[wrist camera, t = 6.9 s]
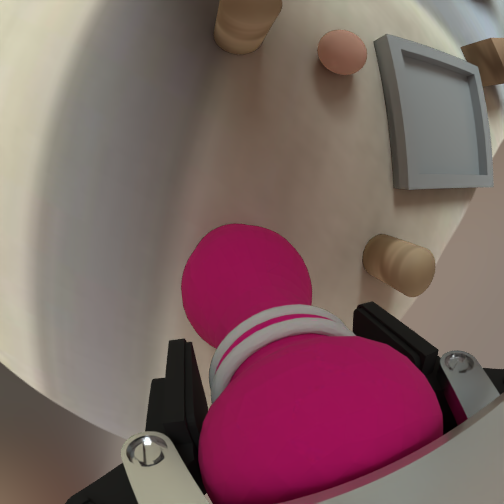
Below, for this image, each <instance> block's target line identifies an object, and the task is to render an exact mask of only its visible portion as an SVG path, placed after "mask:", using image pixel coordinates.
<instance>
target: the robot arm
mask: <svg viewBox="0 0 504 504" xmlns="http://www.w3.org/2000/svg"><path fill="white" fill-rule="evenodd" d="M353 333H354V334H355V335H356V336H359V337H363V338H366V339H370V340H373V341H377V342H381V343H384V344H387V345H389V346H391V347H392V348H394V349H395V350H397V351H398V352H400V353H401V354H403V355H405V356H406V357H407V358H408V359H409V360H410V361H411V362H412V363H413V364H414V365H415V366H416V367H417V368H418V369H419V370H420V371H421V372H422V373H423V374H424V375H425V377H426V379H427V380H428V382H429V384H430V385H431V387H432V389H433V390H434V392H435V394H436V397H437V400H438V403H439V405H440V408H441V411H442V414H443V436H441V437H440V438H438V439H436V440H435V441H433V442H431V443H429V444H428V445H426V446H424V447H422V448H421V449H419V450H417V451H415V452H413V453H411V454H409V455H408V456H406V457H404V458H402V459H400V460H398V461H396V462H394V463H391V464H389V465H387V466H385V467H383V468H381V469H378V470H376V471H374V472H372V473H369V474H367V475H365V476H362V477H360V478H357V479H355V480H352V481H349V482H347V483H344V484H341V485H339V486H336V487H333V488H330V489H327V490H324V491H321V492H318V493H315V494H311V495H308V496H305V497H301V498H297V499H294V500H290V501H286V502H282V503H278V504H504V369H490V368H482V367H481V365H480V364H479V363H478V361H477V360H476V359H475V357H473V356H472V355H471V354H469V353H467V352H464V351H450V352H447V353H445V354H444V355H443V356H442V357H441V358H440V357H439V356H437V355H438V349H437V348H435V347H434V346H432V345H431V344H430V343H429V342H427V341H426V340H425V339H423V338H422V337H421V336H419V335H418V334H417V333H415V332H414V331H413V330H411V329H409V327H407V326H406V325H404V324H403V323H402V322H400V321H399V320H398V319H396V318H395V317H394V316H392V315H391V314H389V313H388V312H387V311H385V310H384V309H383V308H381V307H380V306H378V305H377V304H376V303H374V302H368V303H364V304H360V305H358V307H357V309H355V310H354V314H353ZM207 413H208V406H207V401H206V397H205V393H204V389H203V386H202V382H201V378H200V374H199V370H198V366H197V362H196V357H195V353H194V349H193V345H192V342H186V340H185V339H178V340H170V341H169V346H168V355H167V365H166V376H165V378H158V379H153V380H152V383H151V389H150V396H149V404H148V412H147V420H146V429H145V432H141V433H138V434H136V435H133V436H132V437H130V438H129V439H128V440H126V442H125V443H124V445H123V446H122V449H121V458H122V461H123V463H122V464H120V465H119V466H117V467H116V468H114V469H113V470H111V471H110V472H108V473H107V474H106V475H104V476H103V477H101V478H100V479H98V480H97V481H95V482H93V483H92V484H91V485H89V486H87V487H86V488H84V489H83V490H81V491H79V492H78V493H76V494H75V495H73V496H72V497H71V498H70V499H68V500H67V502H66V503H65V504H210V503H209V502H208V501H207V499H206V498H205V496H204V495H205V494H206V493H207V492H206V489H205V487H204V484H203V481H202V476H201V472H200V467H199V462H198V447H199V438H200V433H201V429H202V425H203V421H204V419H205V417H206V415H207Z"/></svg>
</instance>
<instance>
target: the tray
mask: <svg viewBox="0 0 504 504" xmlns="http://www.w3.org/2000/svg"><path fill="white" fill-rule="evenodd" d="M374 45H375V49H376V54H377V59H378V63H379V68H380V73H381V79H382V84H383V90H384V96H385V103H386V109H387V117H388V125H389V133H390V142H391V153H392V166H393V182H394V188H397V189H407V190H414V189H436V188H469V187H493V162H492V148H491V138H490V129H489V121H488V114H487V108H486V102H485V97H484V91H483V87H482V82H481V77H480V73H479V69H478V67H477V66H475V65H473V64H471V63H469V62H466V61H464V60H462V59H460V58H457V57H455V56H452V55H450V54H447V53H445V52H442V51H439V50H437V49H434V48H431V47H428V46H425V45H422V44H419V43H416V42H413V41H410V40H407V39H403V38H400V37H396V36H393V35H389V34H385V35H384V36H382V37H380V38H379V39H377V40H376V41H374Z"/></svg>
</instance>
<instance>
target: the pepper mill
mask: <svg viewBox="0 0 504 504" xmlns="http://www.w3.org/2000/svg"><path fill="white" fill-rule="evenodd" d="M181 290H182V299H183V307H184V310H185V312H186V315H187V318H188V320H189V321H190V323H191V325H192V326H193V328H194V329H195V331H196V332H197V333H198V335H199V336H200V337H201V338H202V339H203V340H204V341H206V342H207V343H208V344H209V345H211V346H213V347H214V348H216V351H215V354H214V356H213V358H212V361H211V365H210V370H209V383H210V389H211V401H212V405H211V406H210V408H209V411H208V413H207V415H206V417H205V419H204V421H203V425H202V429H201V433H200V438H199V447H198V462H199V467H200V472H201V476H202V481H203V484H204V487H205V489H206V492H207V494H208V496H209V498H210V500H211V501H212V503H213V504H278V503H282V502H286V501H290V500H294V499H297V498H301V497H305V496H308V495H311V494H315V493H318V492H321V491H324V490H327V489H330V488H333V487H336V486H339V485H341V484H344V483H347V482H349V481H352V480H355V479H357V478H360V477H362V476H365V475H367V474H369V473H372V472H374V471H376V470H378V469H381V468H383V467H385V466H387V465H389V464H391V463H394V462H396V461H398V460H400V459H402V458H404V457H406V456H408V455H409V454H411V453H413V452H415V451H417V450H419V449H421V448H422V447H424V446H426V445H428V444H429V443H431V442H433V441H435V440H436V439H438V438H440V437H441V436H443V414H442V411H441V408H440V405H439V403H438V400H437V397H436V394H435V392H434V390H433V389H432V387H431V385H430V384H429V382H428V380H427V379H426V377H425V375H424V374H423V373H422V372H421V371H420V370H419V369H418V368H417V367H416V366H415V365H414V364H413V363H412V362H411V361H410V360H409V359H408V358H407V357H406V356H405V355H403V354H401V353H400V352H398V351H397V350H395V349H394V348H392V347H391V346H389V345H387V344H384V343H381V342H377V341H373V340H370V339H366V338H363V337H359V336H356V335H355V334H354V333H353V332H352V331H351V330H349V329H348V328H347V327H346V326H345V325H344V323H343V322H342V321H341V320H340V319H339V318H338V317H336V316H335V315H333V314H332V313H330V312H328V311H326V310H324V309H322V308H318V307H315V306H312V285H311V280H310V277H309V273H308V270H307V267H306V265H305V263H304V261H303V259H302V257H301V256H300V255H299V253H298V252H297V251H296V249H295V248H294V247H293V246H292V245H291V244H290V243H289V242H288V241H287V240H286V239H285V238H283V237H282V236H280V235H279V234H278V233H276V232H274V231H271V230H269V229H266V228H263V227H259V226H252V225H245V224H228V225H224V226H221V227H218V228H216V229H214V230H212V231H211V232H209V233H208V234H207V235H206V236H205V237H204V238H203V239H202V240H201V241H200V242H199V244H198V245H197V247H196V249H195V250H194V252H193V253H192V255H191V256H190V258H189V259H188V261H187V264H186V266H185V269H184V272H183V276H182V285H181Z"/></svg>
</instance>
